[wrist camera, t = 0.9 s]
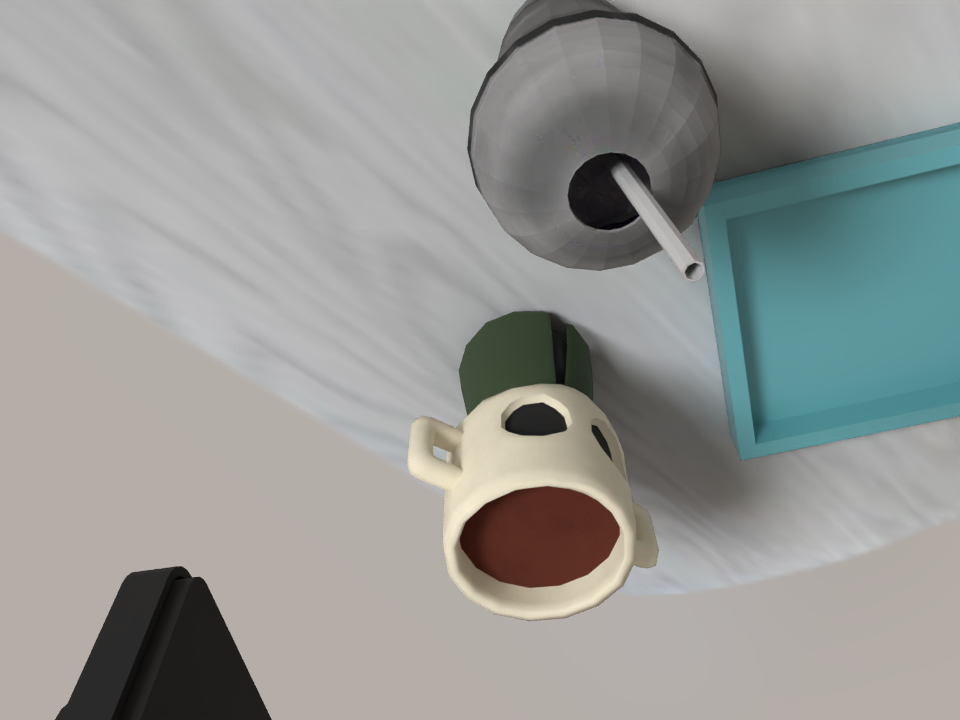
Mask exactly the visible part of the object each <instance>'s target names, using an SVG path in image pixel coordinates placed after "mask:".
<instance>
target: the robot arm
mask: <svg viewBox="0 0 960 720" xmlns="http://www.w3.org/2000/svg"><path fill="white" fill-rule="evenodd" d="M55 720H271V717H270V715H269V713H268V711H267V709H266V707H265V705H264V703H263V701H262V699H261V697H260V695H259V692H258V690H257V688H256V686H255V684H254V682H253V680H252V678H251V676H250V674H249V672H248V669H247V668H246V665H245V663H244V661H243V659H242V657H241V655H240V653H239V651H238V649H237V646H236V644H235V642H234V640H233V638H232V636H231V634H230V632H229V630H228V628H227V626H226V624H225V621H224V619H223V617H222V615H221V613H220V611H219V609H218V607H217V605H216V603H215V600H214V599H213V596H212V594H211V592H210V590H209V588H208V586H207V584H206V582H205V581H204V579H202V578H201V577H193V578H192V577H191V575H190V574H189V572H188V571H187V570H186V569H185V568H183V567H181V566H179V567H170V568H162V569H155V570H147V571H140V572H132V573H131V574H129V575H128V576H127V577H126V578H125V580H124V582H123V583H122V585H121V587H120V589H119V591H118V594H117V596H116V598H115V600H114V602H113V605H112V607H111V609H110V611H109V614H108V616H107V618H106V620H105V622H104V624H103V627H102V629H101V631H100V633H99V636H98V638H97V640H96V642H95V644H94V647H93V649H92V651H91V654H90V655H89V658H88V660H87V662H86V664H85V667H84V669H83V671H82V673H81V675H80V677H79V680H78V682H77V684H76V686H75V688H74V691H73V693H72V695H71V698H70V700H69V702H68V704H67V705H66V706H65V707H63V708H62V709H61V711H60V712H59V714H58V716H57V717H56V719H55Z"/></svg>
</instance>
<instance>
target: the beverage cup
mask: <svg viewBox="0 0 960 720" xmlns="http://www.w3.org/2000/svg"><path fill="white" fill-rule="evenodd" d="M467 150H468V154H469V158H470V163H471V167H472V171H473V175H474V180H475V184H476V186H477V188H478V190H479V191H480V193H481V194H482V196H483V198H484V199H485V201H486V203H487V204H488V206H489V207H490V209H491V211H492V212H493V214H494V215H495V217H496V218H497V220H498V221H499V223H500V225H501V226H502V228H503V229H504V230H505V231H506V232H507V233H508V234H509V235H510V236H512V237H513V238H514V239H515V240H516V241H518V242H519V243H520V244H521V245H522V246H524V247H525V248H526V249H527V250H528V251H530V252H531V253H533V254H535V255H536V256H539V257H541V258H544V259H546V260H549V261H551V262H554V263H556V264H559V265H561V266H564V267H566V268H576V269H587V270H598V271H601V270H606V269H611V268H617V267H622V266H627V265H632V264H635V263H637V262H639V261H641V260H643V259H645V258H647V257H649V256H651V255H653V254H655V253H657V252H659V251H661V250H663V249H664V251H665V252H666V253H667V255H668V256H669V258H670V259H671V261H672V262H673V263H674V265H675V266H676V268H677V269H678V271H679V272H680V273H681V275H682V276H683V278H684V279H685V280H687V281H691V282H695V281H697V280H699V279H701V278H702V276H703V274H704V272H705V267H704V265H703V262H702V261H701V260H700V258H699V257H698V256H697V254H696V253H695V252H694V251H693V249H692V248H691V247H690V245H689V244H688V243H687V241H686V240H685V239H684V237H683V236H682V235H681V233H682V232H683V231H685V230H686V229H687V228H688V227H689V226H690V225H691V224H692V222H693V220H694V219H695V217H696V215H697V214H698V212H699V210H700V209H701V207H702V205H703V204H704V202H705V200H706V199H707V197H708V195H709V194H710V192H711V190H712V186H713V182H714V178H715V174H716V170H717V166H718V162H719V158H720V154H721V148H720V129H719V117H718V105H717V95H716V93H715V91H714V88H713V86H712V84H711V82H710V79H709V77H708V75H707V73H706V70H705V68H704V66H703V64H702V62H701V60H700V59H699V58H698V57H697V55H696V54H695V53H694V52H693V51H692V50H691V49H690V48H689V47H688V46H687V45H686V44H685V43H684V42H683V41H682V40H681V39H680V38H679V37H678V36H677V35H676V34H675V33H674V32H673V31H671V30H669V29H667V28H665V27H663V26H661V25H659V24H657V23H654V22H652V21H650V20H648V19H646V18H644V17H642V16H640V15H638V14H634V13H625V12H621V11H619V10H618V9H617V8H615V7H614V6H612V5H611V4H610V3H608V2H607V1H606V0H527V1H526V2H525V3H524V4H523V5H522V7H521V8H520V9H519V10H518V11H517V12H516V14H515V15H514V17H513V19H512V20H511V23H510V25H509V27H508V30H507V32H506V34H505V36H504V39H503V42H502V46H501V49H500V53H499V57H498V61H497V62H496V63H495V64H494V66H493V67H492V68H491V69H490V70H489V71H488V72H487V74H486V77H485V79H484V81H483V84H482V86H481V88H480V90H479V93H478V95H477V97H476V100H475V102H474V104H473V106H472V109H471V115H470V125H469V136H468V146H467Z"/></svg>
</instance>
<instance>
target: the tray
mask: <svg viewBox="0 0 960 720" xmlns="http://www.w3.org/2000/svg"><path fill="white" fill-rule="evenodd" d="M697 215H698V221H699V228H700V235H701V241H702V248H703V255H704V261H705V268H706V275H707V281H708V288H709V294H710V301H711V308H712V314H713V321H714V328H715V334H716V341H717V348H718V354H719V361H720V368H721V374H722V381H723V387H724V394H725V401H726V407H727V414H728V421H729V427H730V434H731V437H732V439H733V442H734V445H735V447H736V450H737V452H738V455H739V457H740V460H746V459H751V458H756V457H761V456H766V455H771V454H776V453H780V452H785V451H790V450H795V449H800V448H805V447H810V446H815V445H820V444H825V443H829V442H834V441H839V440H844V439H849V438H854V437H859V436H864V435H869V434H874V433H879V432H883V431H888V430H893V429H898V428H903V427H908V426H913V425H918V424H923V423H928V422H932V421H937V420H942V419H947V418H952V417H957V416H960V123H956V124H952V125H948V126H944V127H939V128H935V129H931V130H927V131H923V132H919V133H915V134H911V135H907V136H903V137H899V138H895V139H890V140H886V141H882V142H878V143H874V144H870V145H866V146H862V147H858V148H854V149H850V150H846V151H842V152H837V153H833V154H829V155H825V156H821V157H817V158H813V159H809V160H805V161H801V162H797V163H793V164H788V165H784V166H780V167H776V168H772V169H768V170H764V171H760V172H756V173H752V174H748V175H744V176H740V177H735V178H731V179H727V180H723V181H719V182H715V183H713V186H712V190H711V192H710V194H709V195H708V197H707V199H706V200H705V202H704V204H703V205H702V207H701V209H700V210H699V212H698V214H697Z"/></svg>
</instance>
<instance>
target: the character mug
mask: <svg viewBox="0 0 960 720" xmlns="http://www.w3.org/2000/svg"><path fill="white" fill-rule="evenodd" d="M459 374H460V381H461V388H462V394H463V398H464V402H465V407H466V411H467V417H466V418H465V419H464V420H463V421H462V422H461V423H460V424H459V425H458V426H457V427H453V426H451V425H448V424H446V423H444V422H441V421H439V420H436V419H434V418H431V417H426V416H421V417H419V418H417V419H415V421H414V422H413V423H412V425H411V433H410V443H409V452H408V468H409V471H410V474H412V475H413V476H415V477H416V478H418V479H419V480H422V481H424V482H427V483H429V484H432V485H434V486H437V487H439V488H442V489H444V490H445V503H444V524H443V525H444V526H443V542H444V551H445V556H446V561H447V568H448V573H449V575H450V577H451V578H452V580H453V581H454V582H455V583H456V585H457V586H458V587H459V589H460V590H461V591H462V593H463V594H464V595H465V596H466V598H468V599H469V600H471V601H473V602H474V603H476V604H478V605H480V606H482V607H483V608H485V609H487V610H488V611H490V612H492V613H493V614H496V615H501V616H506V617H511V618H516V619H521V620H526V621H537V620H549V619H561V618H567V617H570V616H572V615H575V614H578V613H580V612H583V611H586V610H588V609H591V608H594V607H596V606H599V605H600V604H601V603H602V602H604V601H605V600H606V599H607V598H608V597H610V596H611V595H612V594H613V593H615V592H616V591H617V590H618V589H620V588H621V587H622V586H623V585H624V583H625V581H626V579H627V577H628V575H629V573H630V571H631V569H632V567H633V565H635V566H637V567H641V568H650V567H654V566H656V563H657V557H658V552H659V549H658V545H657V541H656V536H655V532H654V528H653V524H652V520H651V517H650V515H649V513H648V511H647V509H645V508H644V507H642V506H640V505H639V504H637V503H635V502H632V491H631V489H630V487H629V483H628V478H627V473H626V466H625V458H624V452H623V450H622V447H621V444H620V441H619V439H618V436H617V434H616V432H615V430H614V429H613V427H612V425H611V424H610V422H609V420H608V419H607V417H606V415H605V414H604V413H603V412H602V411H601V410H600V409H599V408H598V407H597V406H596V405H595V404H594V403H593V381H592V367H591V361H590V355H589V348H588V345H587V344H586V342H585V341H584V340H583V338H582V337H581V336H580V334H579V333H578V331H577V330H576V329H575V327H574V326H573V325H570V324H568V323H567V342H566V341H565V340H563V339H562V338H561V337H560V336H559V335H558V334H557V333H552V331H551V321H550V315H549V314H547V313H545V312H512V313H509V314H507V315H504V316H502V317H499V318H497V319H494V320H492V321H489V322H487V323H485V325H484V326H483V327H482V328H481V329H480V330H479V332H478V333H477V334H476V335H475V336H474V337H473V338H472V340H471V341H470V342H469V343H468V344H467V345H466V348H465V352H464V355H463V358H462V362H461V365H460V368H459ZM433 445H434V446H436V447H439V448H441V449H444V450H446V451H448V452H447V459H446V461H443V460H441V459H438V458H436V457H435V456H434V455H433Z"/></svg>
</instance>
